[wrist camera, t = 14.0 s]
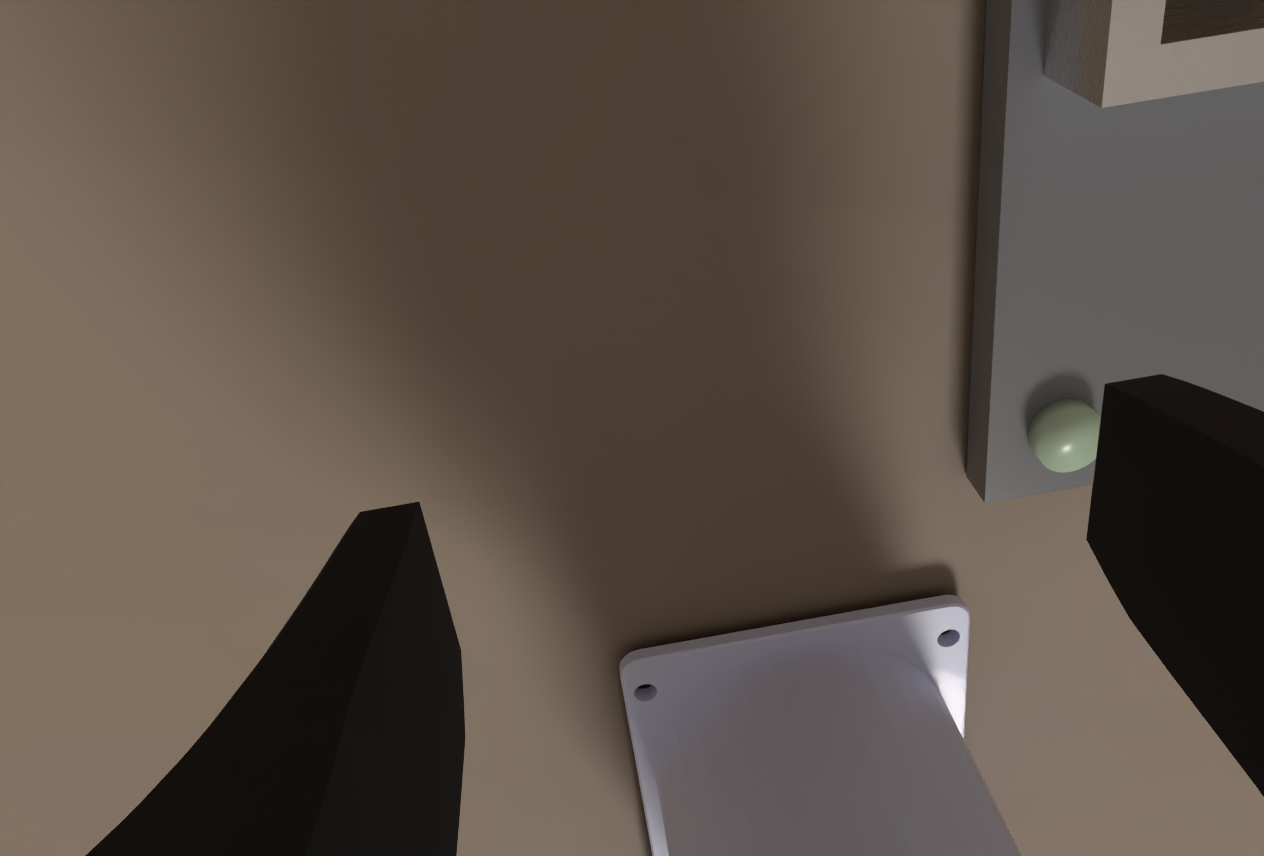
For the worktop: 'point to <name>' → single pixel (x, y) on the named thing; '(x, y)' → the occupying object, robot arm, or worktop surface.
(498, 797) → the worktop surface
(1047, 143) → the breaker panel
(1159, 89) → the frame
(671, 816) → the robot arm
